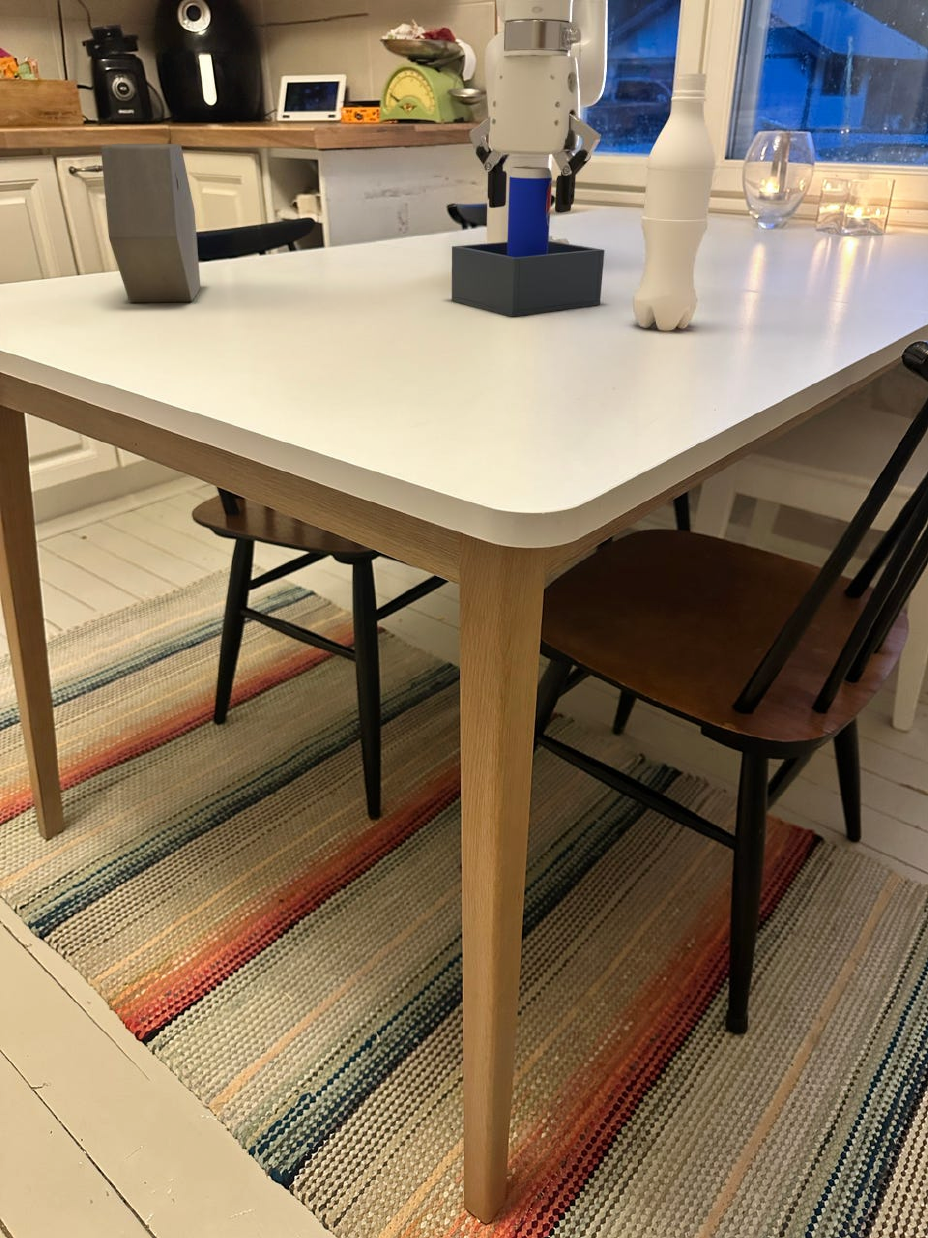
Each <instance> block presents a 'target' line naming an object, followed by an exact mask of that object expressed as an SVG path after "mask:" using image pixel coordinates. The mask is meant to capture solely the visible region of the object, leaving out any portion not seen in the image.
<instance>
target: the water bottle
mask: <svg viewBox="0 0 928 1238" xmlns="http://www.w3.org/2000/svg"><path fill="white" fill-rule="evenodd" d="M706 83H707V74H706V73H677V74H676V79H675V89H674V90H673V96H672V97H671V99H670V101H671V102H672V103H673V104H672V108H671V112H670V115H669V117H668V119H667V121H666V123H665V125H664V126H663V128H662V130H661V132H660V133H659V135H658V137H657V139H656V141H655V143H654V145H653V147H652V149H651V151H650V153H649V156H648V159H647V162H646V163H647V165H646V169H647V173H646V181H645V182H646V183H645V193H644V202H643V203H644V204H643V214H642V216H641V220H640V226H641V229H642V234H643V238H644V248H645V257H644V258H645V259H644V265H643V266H644V267H643V271H642V275H641V277H640V278H641V279H640V282H639V284H638V287H637V289H636V290H635V293H634V295H633V298H632V299H633V300H632V306H633V313H634V317H635V320H636V322H637V324H638V326H639V327H641V328H644V329H647V328H649V327H650V326H652V325H653V324H654V323H655V324H656V326H657V329H658V330H660V331H667V332H668V331H672V330H675V329H676V327H677V328H679V329H685V328H687V327H688V325H689V324H690V323H691V321H692V319H693V317H694V315H695V312H696V309H697V304H698V297H697V292H696V287H695V279H694V278H695V277H694V273H695V263H696V259H697V255H698V254H697V253H698V250H699V248H700V244H701V243H702V239H703V237H704V235H705V233H706V231H707V229H708V225H709V218H708V215H709V210H710V209H709V206H710V201H711V200H710V199H711V193H712V185H713V177H714V170H716V154H715V149H714V146H713V142H712V139H711V135H710V133H709V130H708V127H707V123H706V121H705V115H704V105H705V104H704V102H707V97H706V96H705V94H706V93H707V91H705V89H706Z"/></svg>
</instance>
